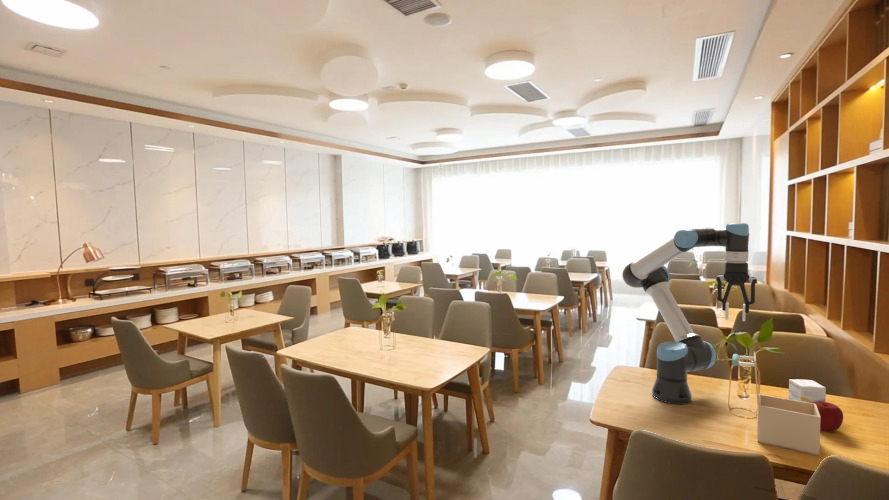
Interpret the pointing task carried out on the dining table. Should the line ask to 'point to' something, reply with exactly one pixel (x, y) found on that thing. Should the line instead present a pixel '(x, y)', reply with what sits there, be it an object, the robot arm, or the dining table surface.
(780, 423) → the carton
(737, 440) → the dining table surface
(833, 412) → the apple
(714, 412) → the dining table surface
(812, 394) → the ink box
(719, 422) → the dining table surface
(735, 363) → the flap
